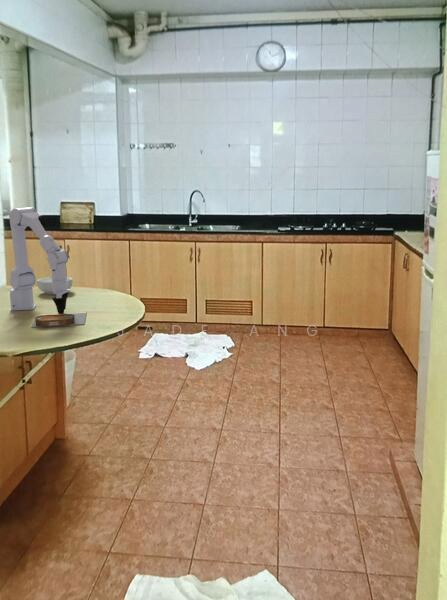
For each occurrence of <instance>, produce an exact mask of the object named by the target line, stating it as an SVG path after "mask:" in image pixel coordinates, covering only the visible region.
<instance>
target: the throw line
mask: <svg viewBox="0 0 447 600" xmlns="http://www.w3.org/2000/svg"><path fill="white" fill-rule="evenodd" d="M76 313H77V312H64V314H76ZM81 313H87V314H88V312H85V311H83V312H81ZM55 314H56V313H47V314H44V315H55Z"/></svg>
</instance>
